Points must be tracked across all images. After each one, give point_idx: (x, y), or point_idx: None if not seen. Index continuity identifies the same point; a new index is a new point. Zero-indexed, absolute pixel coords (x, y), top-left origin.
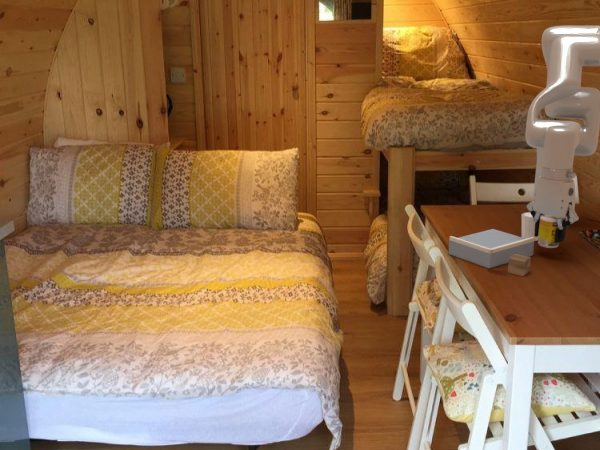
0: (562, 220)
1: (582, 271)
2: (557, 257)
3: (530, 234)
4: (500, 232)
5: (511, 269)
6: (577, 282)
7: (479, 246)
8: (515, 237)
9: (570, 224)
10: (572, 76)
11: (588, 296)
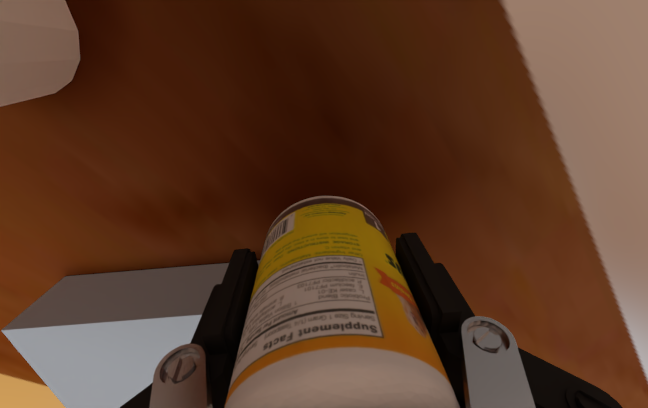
0: (465, 399)
1: (537, 241)
2: (369, 192)
3: (34, 92)
4: (80, 339)
5: None
6: (562, 327)
7: None
8: (188, 336)
9: (569, 384)
10: None
11: (625, 371)
